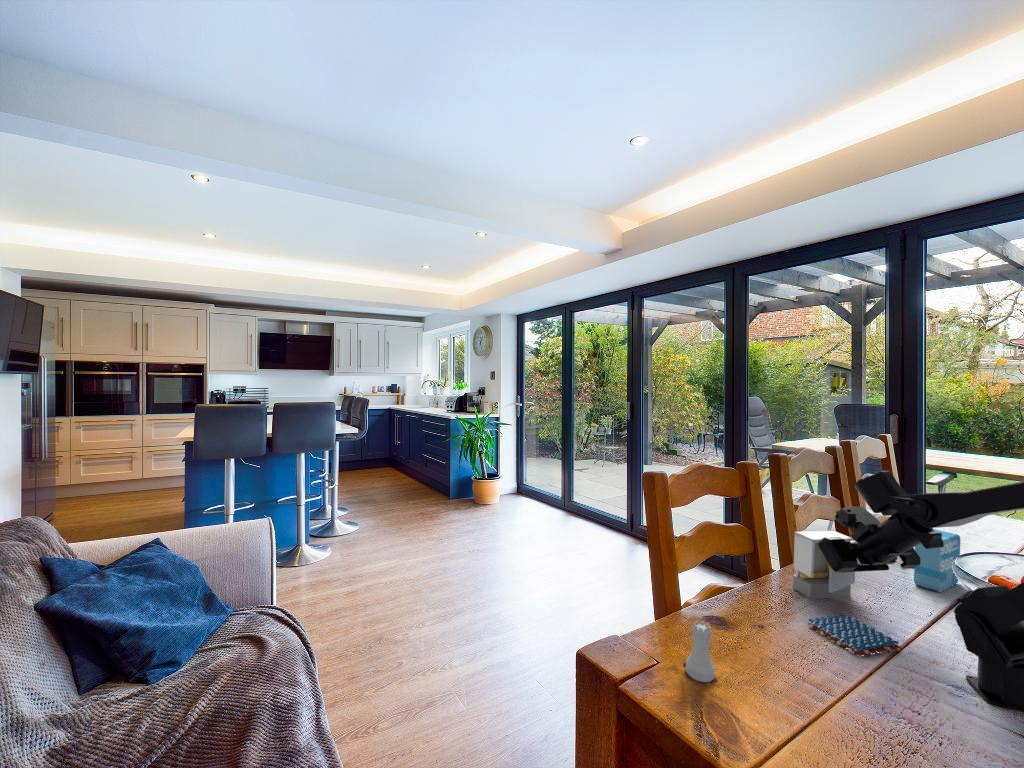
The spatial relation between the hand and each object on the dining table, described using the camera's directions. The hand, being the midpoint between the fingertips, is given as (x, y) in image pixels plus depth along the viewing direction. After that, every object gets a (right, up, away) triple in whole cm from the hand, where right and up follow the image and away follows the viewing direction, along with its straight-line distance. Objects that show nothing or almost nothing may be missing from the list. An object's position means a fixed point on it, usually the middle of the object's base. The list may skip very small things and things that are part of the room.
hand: (841, 569), depth 97 cm
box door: (+1, -4, +2) cm, 5 cm away
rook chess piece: (-40, -7, -24) cm, 47 cm away
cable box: (0, -8, +7) cm, 10 cm away
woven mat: (-7, -9, -12) cm, 16 cm away
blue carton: (+31, -9, +12) cm, 35 cm away
